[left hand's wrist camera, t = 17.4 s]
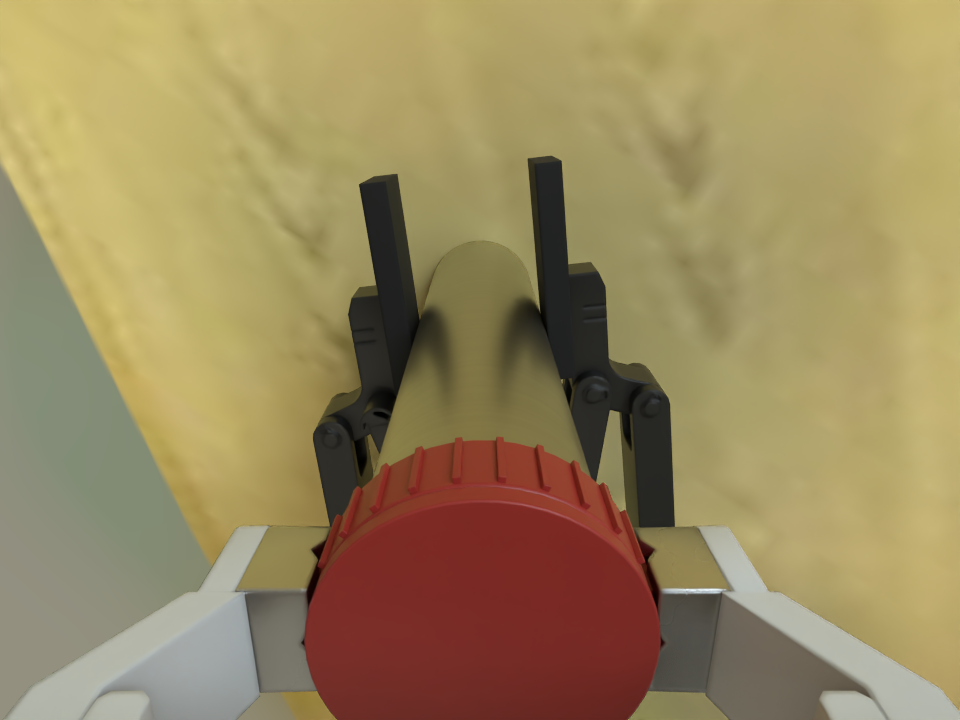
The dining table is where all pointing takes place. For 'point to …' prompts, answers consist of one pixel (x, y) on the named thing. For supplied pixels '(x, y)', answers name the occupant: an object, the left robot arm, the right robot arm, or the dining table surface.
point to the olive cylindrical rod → (481, 363)
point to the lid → (482, 593)
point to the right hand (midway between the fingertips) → (461, 170)
